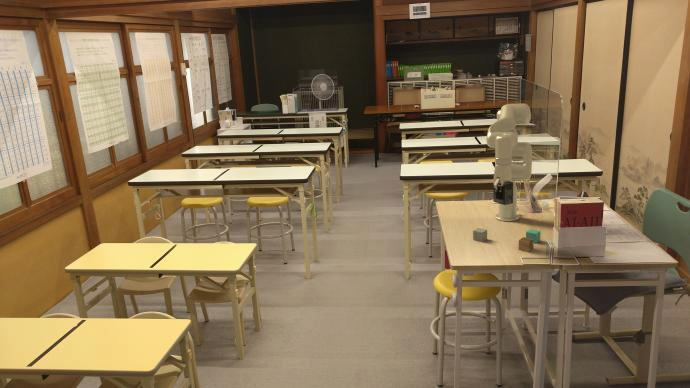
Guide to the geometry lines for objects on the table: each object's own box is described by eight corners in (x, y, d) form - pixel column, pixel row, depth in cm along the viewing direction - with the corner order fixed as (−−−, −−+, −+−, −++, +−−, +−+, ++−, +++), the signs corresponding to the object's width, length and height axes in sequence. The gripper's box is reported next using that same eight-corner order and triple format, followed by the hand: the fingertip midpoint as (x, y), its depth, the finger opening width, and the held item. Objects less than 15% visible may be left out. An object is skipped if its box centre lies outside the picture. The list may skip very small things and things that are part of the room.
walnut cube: (523, 246, 253) (523, 237, 252) (533, 249, 250) (533, 239, 249) (518, 250, 250) (518, 240, 249) (528, 252, 246) (528, 242, 245)
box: (513, 203, 255) (513, 182, 252) (504, 205, 252) (504, 184, 249) (501, 199, 262) (502, 178, 259) (492, 201, 259) (493, 180, 256)
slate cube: (478, 237, 269) (478, 227, 268) (487, 239, 266) (487, 229, 265) (473, 240, 266) (473, 230, 265) (482, 242, 263) (482, 232, 261)
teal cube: (530, 238, 263) (530, 229, 262) (540, 240, 260) (540, 230, 258) (525, 241, 259) (526, 231, 258) (535, 243, 256) (536, 233, 255)
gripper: (504, 156, 260) (504, 191, 265) (487, 164, 248) (487, 200, 253) (519, 158, 255) (518, 193, 260) (502, 165, 243) (501, 203, 248)
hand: (503, 196), depth 256 cm, fingers closed on box, 7 cm apart
